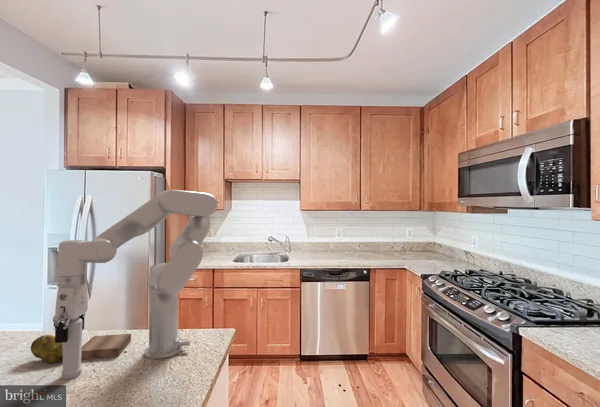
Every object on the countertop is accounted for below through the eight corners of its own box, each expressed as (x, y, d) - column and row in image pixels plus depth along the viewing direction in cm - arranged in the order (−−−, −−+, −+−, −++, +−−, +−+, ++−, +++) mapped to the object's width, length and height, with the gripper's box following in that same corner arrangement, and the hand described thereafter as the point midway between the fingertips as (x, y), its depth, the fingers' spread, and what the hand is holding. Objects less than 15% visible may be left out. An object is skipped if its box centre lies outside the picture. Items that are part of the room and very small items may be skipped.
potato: (49, 369, 101) (49, 344, 101) (25, 362, 106) (26, 338, 106) (76, 358, 109) (76, 335, 109) (53, 351, 114) (53, 329, 114)
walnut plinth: (130, 341, 123) (130, 333, 123) (118, 356, 110) (118, 348, 110) (94, 344, 120) (94, 336, 120) (76, 360, 108) (76, 351, 108)
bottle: (68, 371, 100) (69, 292, 101) (85, 370, 101) (86, 291, 101) (57, 380, 95) (58, 296, 95) (75, 379, 95) (76, 296, 96)
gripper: (71, 286, 90) (68, 346, 90) (97, 274, 107) (96, 325, 107) (41, 287, 89) (38, 348, 89) (73, 275, 106) (71, 326, 105)
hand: (70, 335), depth 98 cm, fingers open, 9 cm apart
